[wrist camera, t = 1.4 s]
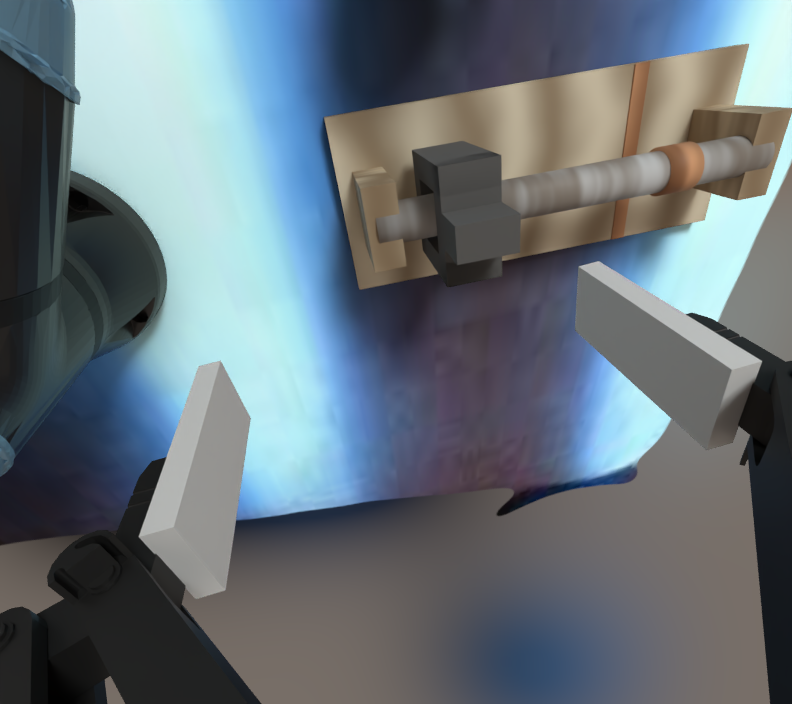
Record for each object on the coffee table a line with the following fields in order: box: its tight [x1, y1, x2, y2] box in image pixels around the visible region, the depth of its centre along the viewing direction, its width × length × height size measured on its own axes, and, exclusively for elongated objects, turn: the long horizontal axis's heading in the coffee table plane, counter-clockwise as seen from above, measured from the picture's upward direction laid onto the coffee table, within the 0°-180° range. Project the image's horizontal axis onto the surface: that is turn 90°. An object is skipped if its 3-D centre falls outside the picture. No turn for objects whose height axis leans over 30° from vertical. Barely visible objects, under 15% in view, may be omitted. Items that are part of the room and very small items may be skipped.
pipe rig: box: [324, 44, 792, 290], centre depth 34 cm, size 34×14×8 cm, turn 98°
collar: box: [412, 141, 521, 287], centre depth 30 cm, size 4×8×11 cm, turn 8°
